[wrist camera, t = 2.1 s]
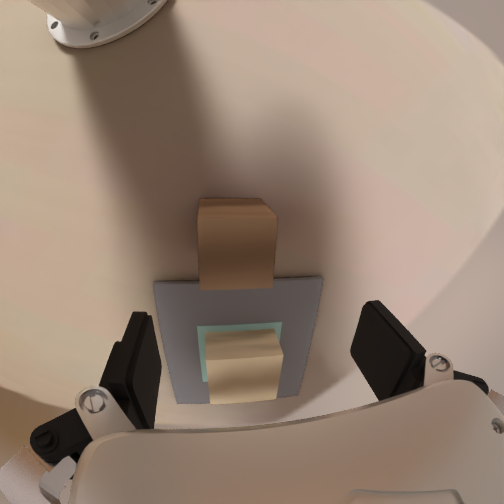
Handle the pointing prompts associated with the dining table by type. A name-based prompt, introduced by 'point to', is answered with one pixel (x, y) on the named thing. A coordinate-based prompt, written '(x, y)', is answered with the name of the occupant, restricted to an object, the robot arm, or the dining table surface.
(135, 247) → the dining table surface
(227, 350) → the maple block
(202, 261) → the walnut block
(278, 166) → the dining table surface
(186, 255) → the dining table surface
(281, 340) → the build mat
